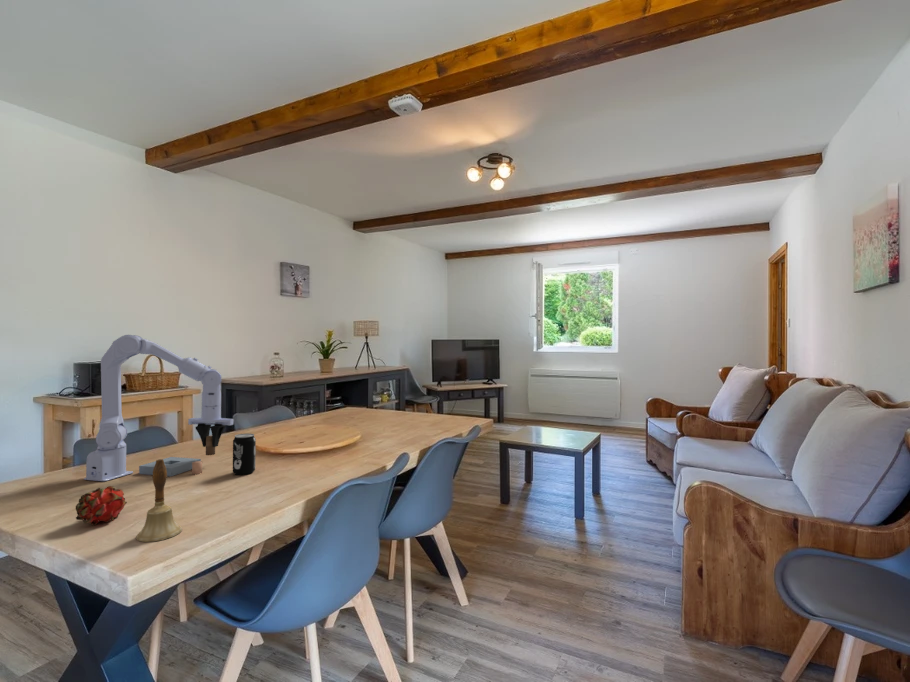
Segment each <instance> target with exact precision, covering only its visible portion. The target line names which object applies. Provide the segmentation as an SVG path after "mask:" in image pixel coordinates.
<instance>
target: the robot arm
mask: <svg viewBox="0 0 910 682" xmlns="http://www.w3.org/2000/svg"><path fill="white" fill-rule="evenodd" d="M137 355H153V356H155V357H158V358H159V359H162V360H163V361H165V362H168V363H169V364H172V365H174V366H175V367H177V369H178V372H179V373H180V374H183V375H184V376H185V377H188V378H190V379H192V380H194V381H196V382H201V384H202V392H201V412H200V413H201V415H200V416H201V417H190V418H188V419H187V420H188V421H187V422H188V425H189V426H190V425H196V426H195V427H194V428H195V430H196V432H197V433H198V435H199V437H200V441H201V443H202V447H203V448H206V436H210V433H211V436H212V446H213V447H215V448H217V447H218V446H219V443H220V439H221V438H222V437H221V436H222V435H223V433H224V430H225V428H226V427H227V426H233V425H234V423H235V422H234V418H226V417H222V415H221V414H222V411H221V410H222V408H221V407H222V392H221V390H222V386H221V383H222V379H223V377H222V375H221V373H220V372H219V371H218V370H217V369H215V368H213V367H212V366H210V365H208V366H207V365H206V364H204V363H202V362H200V361H199V359H198V358H196V357H191V356H190V357H189V356H188V357H185V358H184V357H182V356H180V355H178V354H176V353H174V352H173V351H171V350H170V349H167V347H165V346H162V345H161V344H158V343H157V342H155V341H152V340H150V339H147V338H143V337H141V336H139V335H136V334H135V335H134V334H133V335H132V334H124V335H122V336H120V337H118V338H116V339H115V340H113V341H112V343H111V345H110V347H109V348H108V349H107V350H106V351H105V353H104V354H103V355H102V357H101V359H100V377H101V379H100V382H101V383H100V384H101V385H100V386H101V388H100V391H101V419H100V423H99V430H98V432H97V434H96V436H95V442H96V444H97V447H96V449H95V451H91V452H89V453H88V455H87V456H86V460H85V461H86V463H85V464H86V466H85V467H86V468H85V469H86V470H85V476H86V477H83V480H86V481H96V482H107V481H110V480H113V479H118V478H120V477H125V476H127V475H130V474H131V475H132V474H133V473H134V471H133V470H131V471H130V470H127V443H126V442H125V441H124V440H125V439H126V438H127V436H128V428H127V427H126V426H125V424H124V423H125V421H124V417H123V414H122V413H123V412H122V411H123V410H122V408H123V407H122V406H123V405H122V367H121V366H122V364H124V363H126V362H127V361H128V360H129V359H130V358H132V357H134V356H137Z"/></svg>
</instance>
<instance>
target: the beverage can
mask: <svg viewBox="0 0 910 682" xmlns="http://www.w3.org/2000/svg"><path fill="white" fill-rule="evenodd" d="M256 442H257V441H256V437H255V434H254V433H238V434H234V438H233V440H232V473H233V474H235V476H247V475H250V474H253V473H254V472H255V470H256V457H257V456H256V450H257V445H256Z"/></svg>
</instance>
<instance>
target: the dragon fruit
mask: <svg viewBox="0 0 910 682" xmlns="http://www.w3.org/2000/svg"><path fill="white" fill-rule="evenodd" d="M124 496H125V493H124V491H123V489H121V488H118V489H116V488H115V487H114V486H112V485H108V486H106V487H105V488H102V487H98V488H97V489H95V490H92V492H91V491H89V492H85V494H82V495H81V496H80V498H79V499H78V503H77V504H76V505H75V511H76V514H77V516H75V519H76V520H78V521H82V522H83V524H89V525H92V526H95V525H97V524H99V522H104V523H107V522H109V523H110V522H112V521H114V519H117V518H118V517H119V515H120V513H121V511H122V510H124V507H125V506H126V504H128V502H127V501H126V499H125V497H124Z"/></svg>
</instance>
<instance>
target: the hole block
mask: <svg viewBox="0 0 910 682" xmlns="http://www.w3.org/2000/svg"><path fill="white" fill-rule="evenodd" d="M162 459H163V460H164V464H165V466H166V470H167V477H173V476H177V475H180V474H183V473H185V472H186V473H187V472H189V471H192V470H191V469H192V462H196V461H202V459H201V458H192V457H179V456H178V457H177V456H169V457H166V458H162ZM155 464H156V460H155V461H152V462H148V463H145V464H141V465H139V466H138V469H139V470H138V474H139V475H149V476H153V469H154V466H155Z"/></svg>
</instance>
